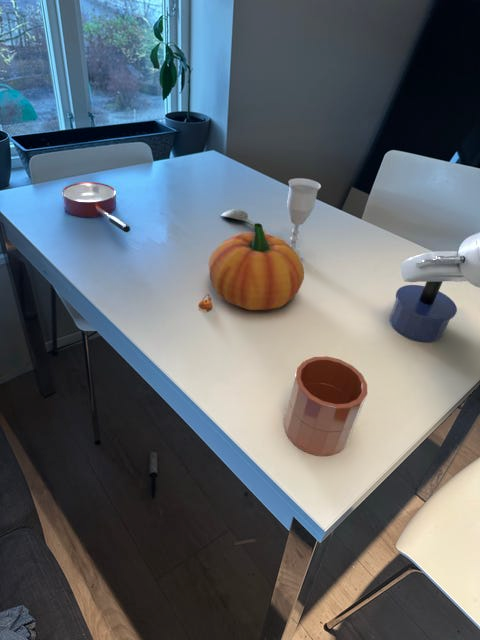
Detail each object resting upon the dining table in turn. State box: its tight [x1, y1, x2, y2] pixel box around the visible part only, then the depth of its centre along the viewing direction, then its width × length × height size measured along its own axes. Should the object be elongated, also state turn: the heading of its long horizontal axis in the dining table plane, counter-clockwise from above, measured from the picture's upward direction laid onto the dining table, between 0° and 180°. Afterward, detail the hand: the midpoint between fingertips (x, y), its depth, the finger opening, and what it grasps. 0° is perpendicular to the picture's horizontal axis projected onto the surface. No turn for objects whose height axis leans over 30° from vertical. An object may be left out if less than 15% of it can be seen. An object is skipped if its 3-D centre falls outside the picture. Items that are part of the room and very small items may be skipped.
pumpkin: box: [208, 222, 305, 311], centre depth 89 cm, size 19×19×15 cm
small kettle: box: [197, 293, 213, 313], centre depth 87 cm, size 3×3×3 cm
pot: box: [283, 355, 368, 457], centre depth 63 cm, size 10×10×10 cm
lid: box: [395, 281, 458, 321], centre depth 84 cm, size 11×11×10 cm
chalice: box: [286, 177, 322, 261], centre depth 102 cm, size 7×7×18 cm
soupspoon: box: [220, 208, 270, 235], centre depth 116 cm, size 22×3×7 cm
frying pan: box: [61, 181, 131, 233], centre depth 110 cm, size 32×13×6 cm, turn 39°
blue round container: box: [389, 299, 451, 343], centre depth 88 cm, size 10×10×6 cm
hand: (433, 277), depth 83 cm, fingers open, 8 cm apart
